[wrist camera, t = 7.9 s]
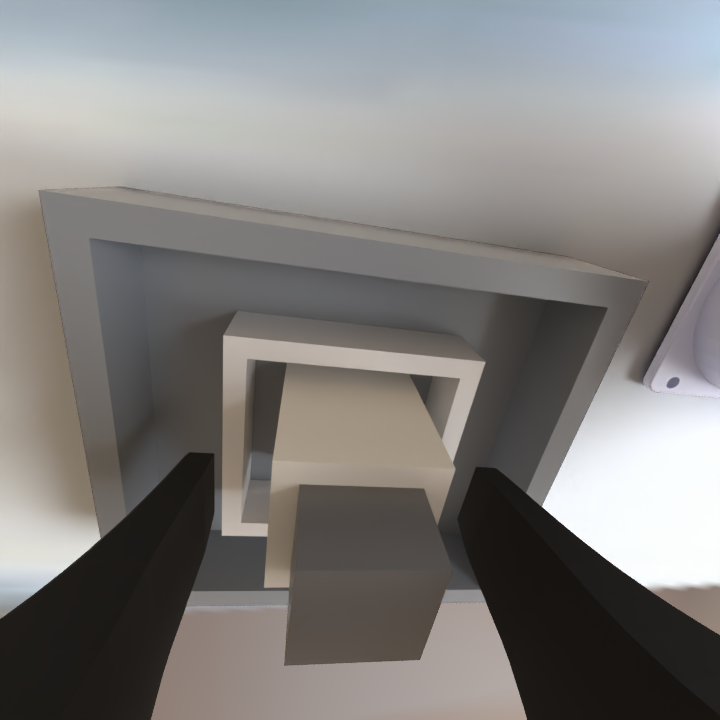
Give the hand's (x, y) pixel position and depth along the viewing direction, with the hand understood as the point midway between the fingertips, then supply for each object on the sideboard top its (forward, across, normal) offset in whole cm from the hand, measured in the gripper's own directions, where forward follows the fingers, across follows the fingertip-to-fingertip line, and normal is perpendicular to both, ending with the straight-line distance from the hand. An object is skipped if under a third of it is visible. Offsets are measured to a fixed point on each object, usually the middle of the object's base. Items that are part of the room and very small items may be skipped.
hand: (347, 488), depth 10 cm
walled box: (+4, 0, 0) cm, 4 cm away
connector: (+3, 0, 0) cm, 3 cm away
